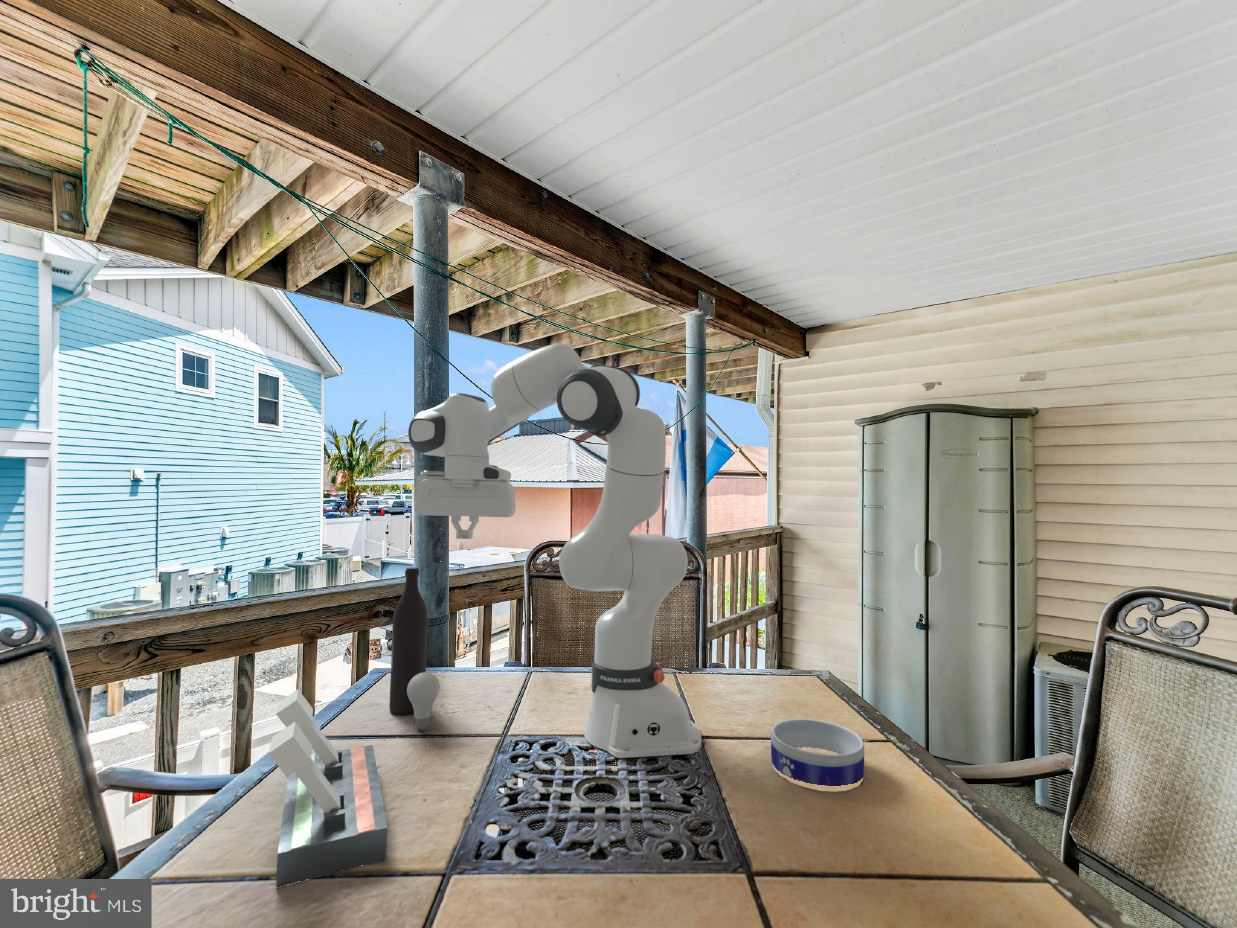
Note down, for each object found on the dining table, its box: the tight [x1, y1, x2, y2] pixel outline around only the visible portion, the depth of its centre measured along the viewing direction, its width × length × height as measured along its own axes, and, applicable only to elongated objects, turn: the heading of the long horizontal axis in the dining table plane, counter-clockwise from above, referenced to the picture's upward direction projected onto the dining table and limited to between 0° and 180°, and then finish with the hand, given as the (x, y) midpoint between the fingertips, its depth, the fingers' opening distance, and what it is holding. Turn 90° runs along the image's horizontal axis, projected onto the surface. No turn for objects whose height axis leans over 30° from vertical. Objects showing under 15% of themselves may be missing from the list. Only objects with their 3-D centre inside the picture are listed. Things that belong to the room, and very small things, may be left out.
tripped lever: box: [275, 689, 339, 765], centre depth 86 cm, size 3×5×13 cm
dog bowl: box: [770, 718, 865, 786], centre depth 98 cm, size 15×15×6 cm
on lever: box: [268, 722, 340, 813], centre depth 74 cm, size 3×5×13 cm
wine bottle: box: [388, 566, 429, 716], centre depth 122 cm, size 7×7×30 cm
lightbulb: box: [407, 671, 441, 731], centre depth 111 cm, size 6×6×11 cm
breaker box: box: [275, 744, 388, 888], centre depth 81 cm, size 12×26×5 cm, turn 27°
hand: (464, 538), depth 116 cm, fingers closed
